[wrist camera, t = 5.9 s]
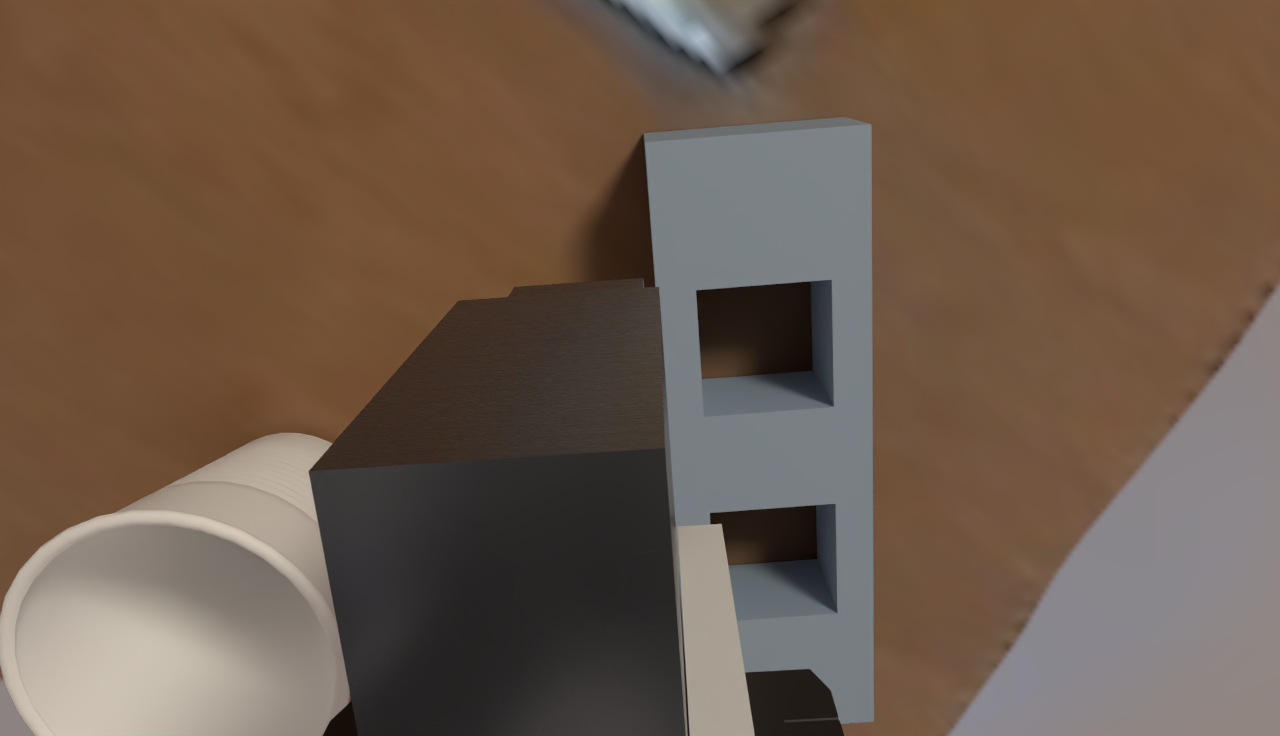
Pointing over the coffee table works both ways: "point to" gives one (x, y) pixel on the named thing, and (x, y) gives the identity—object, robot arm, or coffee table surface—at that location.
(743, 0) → the coffee table surface
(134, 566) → the cup
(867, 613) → the grey block with hole
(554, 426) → the clip
